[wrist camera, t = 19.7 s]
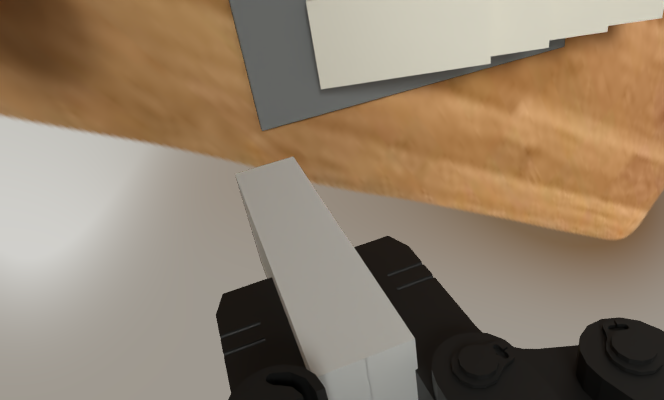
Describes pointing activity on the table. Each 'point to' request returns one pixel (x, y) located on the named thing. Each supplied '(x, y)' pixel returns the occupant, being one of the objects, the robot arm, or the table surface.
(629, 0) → the domino
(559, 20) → the domino
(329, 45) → the domino
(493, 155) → the table surface
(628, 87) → the table surface
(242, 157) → the table surface
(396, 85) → the mat
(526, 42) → the domino
